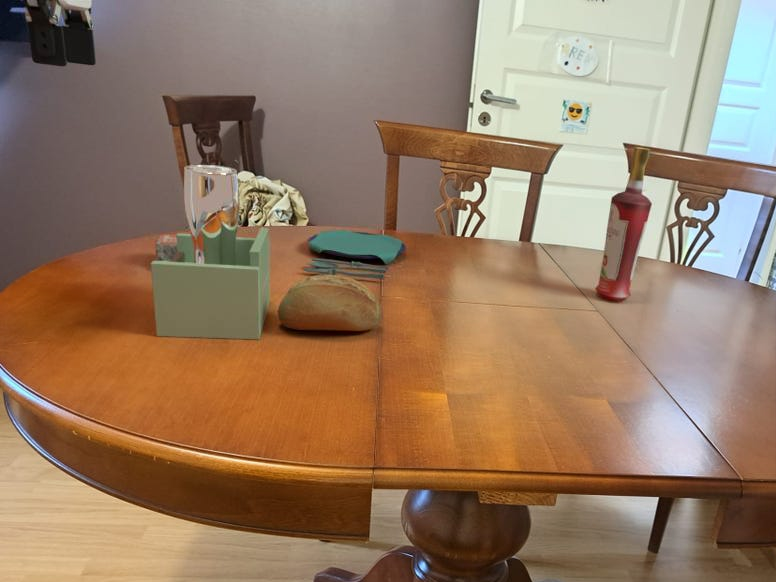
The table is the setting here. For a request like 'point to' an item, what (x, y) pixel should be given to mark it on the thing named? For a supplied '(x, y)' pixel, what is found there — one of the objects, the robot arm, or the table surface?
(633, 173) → the liquor
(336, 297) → the bread roll
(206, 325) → the green boxy piece
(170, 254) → the packaged product
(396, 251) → the cutlery set
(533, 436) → the table surface
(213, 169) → the beer glass
